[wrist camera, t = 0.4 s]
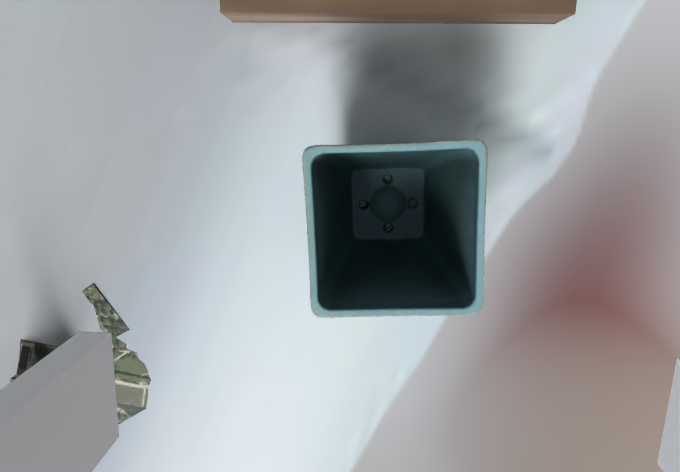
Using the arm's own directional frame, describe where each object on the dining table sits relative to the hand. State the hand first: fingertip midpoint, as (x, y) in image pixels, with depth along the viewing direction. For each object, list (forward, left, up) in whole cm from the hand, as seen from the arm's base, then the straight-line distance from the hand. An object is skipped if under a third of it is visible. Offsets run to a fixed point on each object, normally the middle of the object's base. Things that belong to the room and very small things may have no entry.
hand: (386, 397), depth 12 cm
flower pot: (-1, +1, -23) cm, 23 cm away
